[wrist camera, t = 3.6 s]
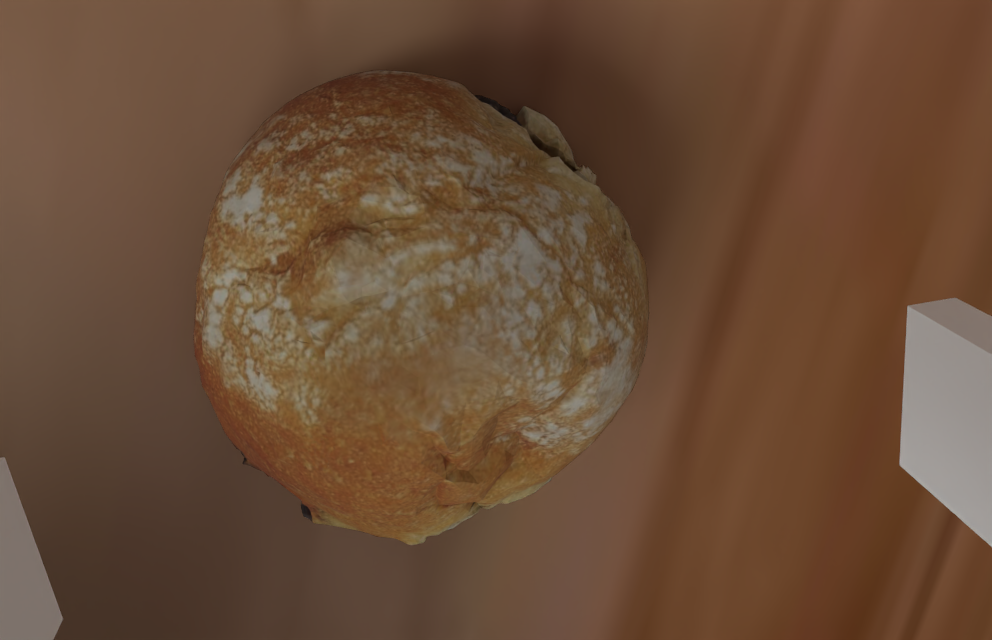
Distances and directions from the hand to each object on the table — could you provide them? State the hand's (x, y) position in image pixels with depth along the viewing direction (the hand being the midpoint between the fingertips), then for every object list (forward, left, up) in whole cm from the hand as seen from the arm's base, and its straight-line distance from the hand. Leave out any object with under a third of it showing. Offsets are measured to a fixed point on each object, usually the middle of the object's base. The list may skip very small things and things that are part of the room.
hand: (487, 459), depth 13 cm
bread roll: (0, -1, -9) cm, 9 cm away
